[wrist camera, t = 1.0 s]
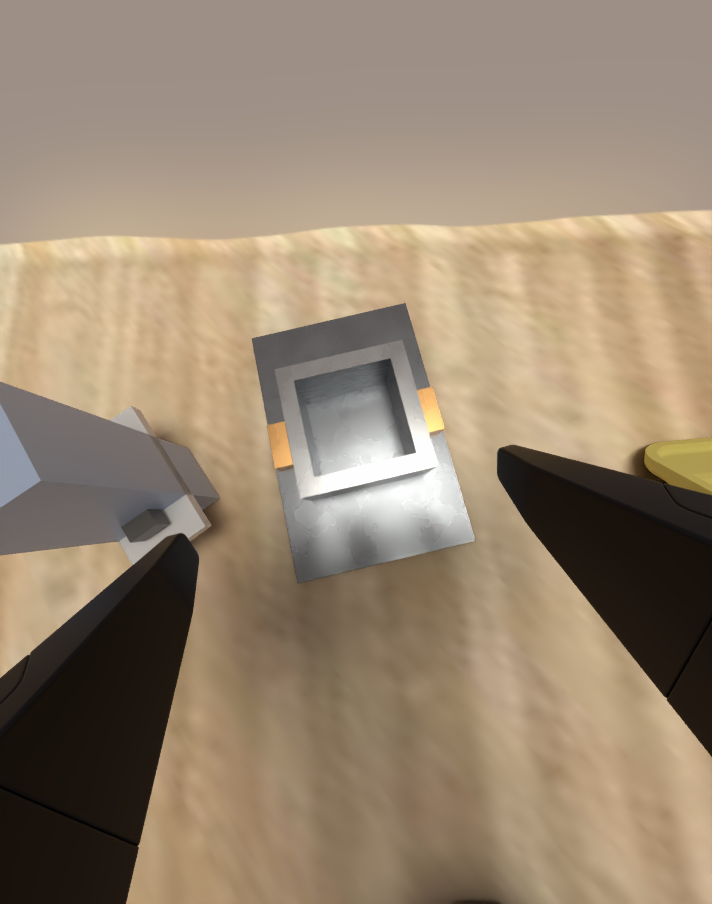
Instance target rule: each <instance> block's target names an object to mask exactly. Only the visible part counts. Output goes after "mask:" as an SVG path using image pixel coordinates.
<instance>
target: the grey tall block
mask: <svg viewBox="0 0 712 904" xmlns="http://www.w3.org/2000/svg"><path fill="white" fill-rule="evenodd" d="M219 498H220V497H219V495H218V494H217V492H216V491H215V489H214V487H213V486H212V484H211V483H210V481H209V480H208V478H207V476H206V475H205V473H204V472H203V470H202V469H201V467H200V465H199V464H198V462H197V461H196V459H195V458H194V456H193V454H192V453H191V451H190V450H189V449H188V448H185V447H182V446H180V445H177V444H174V443H171V442H168V441H166V440H163V439H160V438H157V437H156V435H155V433H154V432H153V430H152V428H151V427H150V425H149V424H148V422H147V420H146V419H145V417H144V416H143V414H142V412H141V411H140V410H139V409H136V408H134V407H132V406H131V407H129V408H128V409H126V410H125V411H123V412H122V413H120V414H119V415H117V416H116V417H114V418H113V419H111V420H110V421H109V420H106V419H104V418H101V417H98V416H95V415H92V414H90V413H87V412H84V411H81V410H78V409H76V408H73V407H70V406H67V405H64V404H61V403H59V402H56V401H53V400H50V399H47V398H45V397H42V396H39V395H36V394H33V393H31V392H28V391H25V390H22V389H19V388H16V387H14V386H11V385H8V384H5V383H2V382H0V555H7V554H16V553H24V552H33V551H41V550H49V549H58V548H66V547H75V546H83V545H92V544H100V543H108V542H117V541H119V542H120V544H121V546H122V548H123V549H124V551H125V553H126V555H127V557H128V558H129V560H130V562H131V564H132V565H134V564H135V563H136V562H137V561H138V560H139V559H141V558H142V557H143V556H144V555H145V554H147V553H148V552H149V551H150V550H151V549H152V548H154V547H155V546H156V545H157V544H158V543H159V542H161V541H162V540H163V539H164V538H165V537H167V536H170V535H174V534H177V533H184V534H185V535H186V536H187V538H188V539H189V541H191V540H193V539H194V538H196V537H197V536H198V535H200V534H201V533H203V532H204V531H205V530H207V529H208V528H210V527H211V526H212V525H211V523H210V522H209V520H208V519H207V517H206V515H205V514H204V512H203V511H202V510H204V509H205V508H206V507H208V506H209V505H211V504H212V503H214V502H215V501H216V500H218V499H219Z"/></svg>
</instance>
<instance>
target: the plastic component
mask: <svg viewBox="0 0 712 904" xmlns="http://www.w3.org/2000/svg"><path fill="white" fill-rule="evenodd" d="M644 463H645V465H646V467H647V468H648V470H649V471H650V472H652V473H653V474H654V475H656V476H658V477H659V478H661V479H663V480H664V481H666V482H667V483H668V484H670V485H673V486H677V487H681V488H685V489H689V490H693V491H697V492H701V493H705V494H710V495H712V437H711V438H700V439H689V440H677V441H666V442H658V443H654V444H651V445H649V446H648V447H647V448H646V450H645V457H644Z"/></svg>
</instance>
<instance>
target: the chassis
mask: <svg viewBox="0 0 712 904" xmlns="http://www.w3.org/2000/svg"><path fill="white" fill-rule="evenodd" d="M252 343H253V348H254V353H255V359H256V364H257V369H258V375H259V380H260V385H261V391H262V396H263V401H264V407H265V412H266V417H267V423H268V425H267V428H268V434H269V439H270V444H271V450H272V455H273V461H274V466H275V469H276V471H277V476H278V481H279V487H280V492H281V497H282V503H283V508H284V513H285V519H286V524H287V529H288V535H289V540H290V545H291V551H292V556H293V561H294V567H295V572H296V577H297V583H302V582H306V581H310V580H314V579H318V578H323V577H327V576H331V575H335V574H339V573H343V572H348V571H352V570H356V569H360V568H364V567H368V566H373V565H377V564H381V563H385V562H389V561H393V560H398V559H402V558H406V557H410V556H414V555H418V554H423V553H427V552H431V551H435V550H439V549H443V548H448V547H452V546H456V545H460V544H464V543H468V542H472V541H475V537H474V534H473V531H472V527H471V524H470V520H469V517H468V514H467V510H466V507H465V503H464V500H463V497H462V493H461V490H460V487H459V483H458V480H457V476H456V473H455V470H454V466H453V463H452V459H451V456H450V453H449V449H448V446H447V443H446V439H445V436H444V432H443V430H444V429H445V428H444V425H443V421H442V418H441V414H440V411H439V408H438V404H437V401H436V398H435V394H434V391H433V387H430V385H429V382H428V378H427V375H426V371H425V368H424V365H423V361H422V358H421V354H420V351H419V348H418V344H417V341H416V337H415V334H414V331H413V327H412V324H411V321H410V317H409V314H408V310H407V307H406V304H405V303H404V304H399V305H395V306H391V307H386V308H382V309H378V310H373V311H369V312H365V313H360V314H356V315H352V316H347V317H343V318H339V319H334V320H330V321H326V322H321V323H317V324H313V325H308V326H304V327H300V328H295V329H291V330H287V331H282V332H278V333H274V334H269V335H265V336H261V337H256V338H252Z"/></svg>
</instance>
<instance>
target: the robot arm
mask: <svg viewBox="0 0 712 904" xmlns="http://www.w3.org/2000/svg"><path fill="white" fill-rule="evenodd" d="M497 475H498V478H499V480H500V482H501V484H502V485H503V487H504V488H505V490H506V492H507V493H508V495H509V496H510V498H511V500H512V501H513V503H514V504H515V506H516V508H517V509H518V511H519V512H520V514H521V516H522V517H523V519H524V520H525V522H526V523H527V525H528V526H529V527H530V528H531V530H532V531H533V532H534V534H535V535H536V536H537V537H538V539H539V540H540V541H541V542H542V544H543V545H544V546H545V547H546V549H547V550H548V551H549V552H550V554H551V555H552V556H553V557H554V559H555V560H556V561H557V562H558V564H559V565H560V566H561V568H562V569H563V570H564V571H565V573H566V574H567V575H568V576H569V578H570V579H571V580H572V581H573V583H574V584H575V585H576V586H577V588H578V589H579V590H580V591H581V593H582V594H583V595H584V596H585V598H586V599H587V600H588V601H589V603H590V604H591V605H592V606H593V608H594V609H595V610H596V611H597V613H598V614H599V615H600V617H601V618H602V619H603V620H604V622H605V623H606V624H607V625H608V627H609V628H610V629H611V630H612V632H613V633H614V634H615V635H616V637H617V638H618V639H619V640H620V642H621V643H622V644H623V645H624V647H625V648H626V649H627V650H628V652H629V653H630V654H631V655H632V657H633V658H634V659H635V660H636V662H637V663H638V664H639V666H640V667H641V668H642V669H643V671H644V672H645V673H646V674H647V676H648V677H649V678H650V679H651V681H652V682H653V683H654V684H655V686H656V687H657V688H658V689H659V691H660V692H661V693H662V694H663V696H664V697H666V698H667V701H668V702H669V704H670V705H671V706H672V707H673V709H674V710H675V711H676V712H677V714H678V715H679V716H680V717H681V719H682V720H683V721H684V722H685V724H686V725H687V726H688V728H689V729H690V730H691V731H692V733H693V734H694V735H695V736H696V738H697V739H698V740H699V741H700V743H701V744H702V745H703V746H704V748H705V749H706V750H707V751H708V753H709V754H710V755H711V756H712V495H710V494H705V493H701V492H697V491H693V490H689V489H685V488H681V487H677V486H673V485H670V484H662V483H661V482H658V481H654V480H650V479H646V478H642V477H638V476H634V475H630V474H626V473H622V472H618V471H615V470H611V469H607V468H603V467H599V466H595V465H591V464H587V463H583V462H579V461H576V460H572V459H568V458H564V457H560V456H556V455H552V454H548V453H544V452H540V451H537V450H533V449H529V448H525V447H521V446H517V445H509V446H505V447H502V448H499V450H498V452H497ZM198 566H199V556H198V553H197V551H196V550H195V548H194V547H193V545H192V544H191V542H190V541H189V539H188V538H187V536H186V535H185V534H184V533H177V534H174V535H170V536H167V537H165V538H164V539H163V540H162V541H161V542H159V543H158V544H157V545H156V546H155V547H154V548H152V549H151V550H150V551H149V552H148V553H147V554H145V555H144V556H143V557H142V558H141V559H139V560H138V561H137V562H136V563H135V564H134V565H132V566H131V567H130V568H129V569H128V570H127V571H125V572H124V573H123V574H122V575H121V576H120V577H118V578H117V579H116V580H115V581H114V582H113V583H111V584H110V585H109V586H108V587H107V588H105V589H104V590H103V591H102V592H101V593H100V594H98V595H97V596H96V597H95V598H94V599H93V600H91V601H90V602H89V603H88V604H87V605H86V606H84V607H83V608H82V609H81V610H80V611H79V612H77V613H76V614H75V615H74V616H73V617H71V618H70V619H69V620H68V621H67V622H66V623H64V624H63V625H62V626H61V627H60V628H59V629H57V630H56V631H55V632H54V633H53V634H52V635H50V636H49V637H48V638H47V639H46V640H45V641H43V642H42V643H41V644H40V645H39V646H37V647H36V648H35V649H34V650H33V651H32V652H31V653H30V655H27V656H26V657H24V658H23V659H22V660H21V661H20V662H19V663H17V664H16V665H15V666H14V667H13V668H12V669H10V670H9V671H8V672H7V673H6V674H4V675H3V676H2V677H1V678H0V904H126V901H127V897H128V892H129V888H130V884H131V880H132V875H133V871H134V867H135V862H136V858H137V854H138V849H139V847H138V845H139V843H140V839H141V835H142V831H143V826H144V822H145V818H146V813H147V809H148V805H149V800H150V796H151V792H152V787H153V783H154V779H155V775H156V770H157V766H158V762H159V757H160V753H161V749H162V744H163V740H164V736H165V731H166V727H167V723H168V718H169V714H170V710H171V705H172V701H173V697H174V692H175V688H176V684H177V679H178V675H179V671H180V666H181V662H182V658H183V653H184V649H185V645H186V640H187V636H188V632H189V627H190V623H191V618H192V613H193V607H194V599H195V591H196V583H197V574H198Z"/></svg>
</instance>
